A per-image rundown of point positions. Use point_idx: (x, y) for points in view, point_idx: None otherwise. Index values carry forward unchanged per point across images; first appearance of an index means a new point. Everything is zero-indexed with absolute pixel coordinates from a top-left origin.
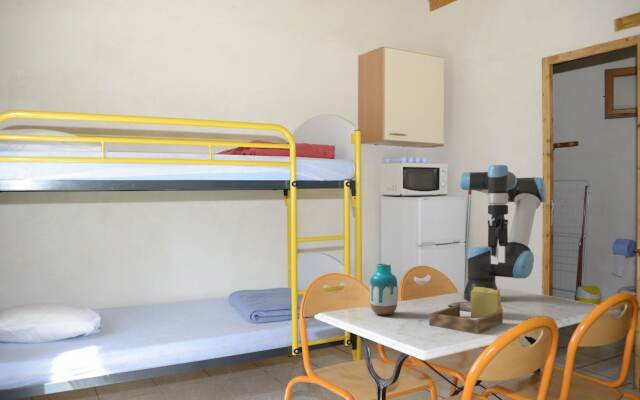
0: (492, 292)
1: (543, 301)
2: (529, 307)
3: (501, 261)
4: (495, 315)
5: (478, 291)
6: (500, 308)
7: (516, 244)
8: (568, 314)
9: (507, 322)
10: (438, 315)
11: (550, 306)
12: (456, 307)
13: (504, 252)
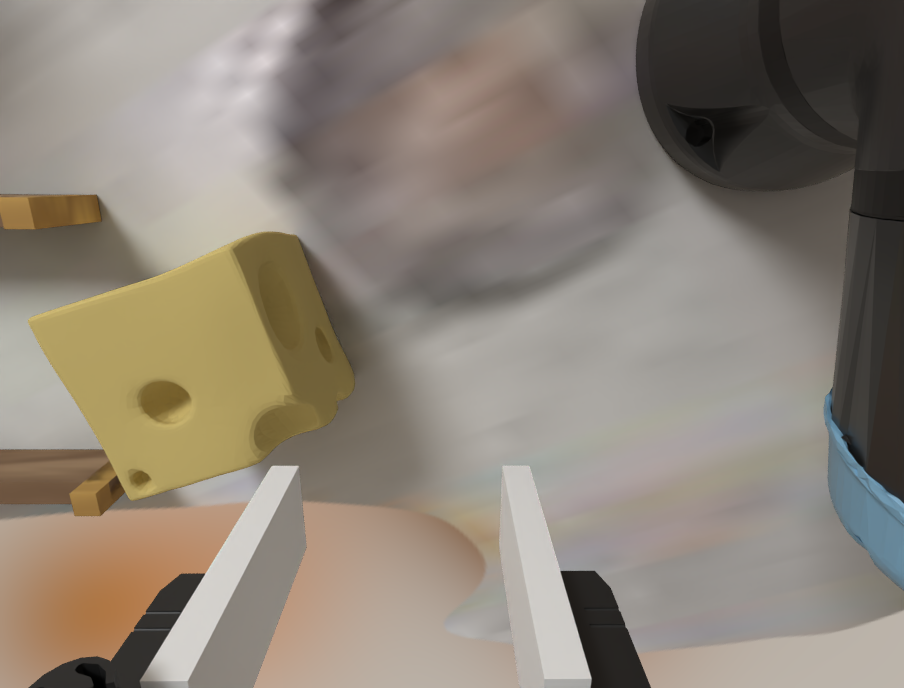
0: (118, 467)
1: None
2: (652, 423)
3: (503, 521)
4: (20, 501)
5: (64, 372)
6: (95, 506)
7: None
8: None
9: None
10: None
11: (751, 495)
12: (3, 226)
13: (520, 673)
